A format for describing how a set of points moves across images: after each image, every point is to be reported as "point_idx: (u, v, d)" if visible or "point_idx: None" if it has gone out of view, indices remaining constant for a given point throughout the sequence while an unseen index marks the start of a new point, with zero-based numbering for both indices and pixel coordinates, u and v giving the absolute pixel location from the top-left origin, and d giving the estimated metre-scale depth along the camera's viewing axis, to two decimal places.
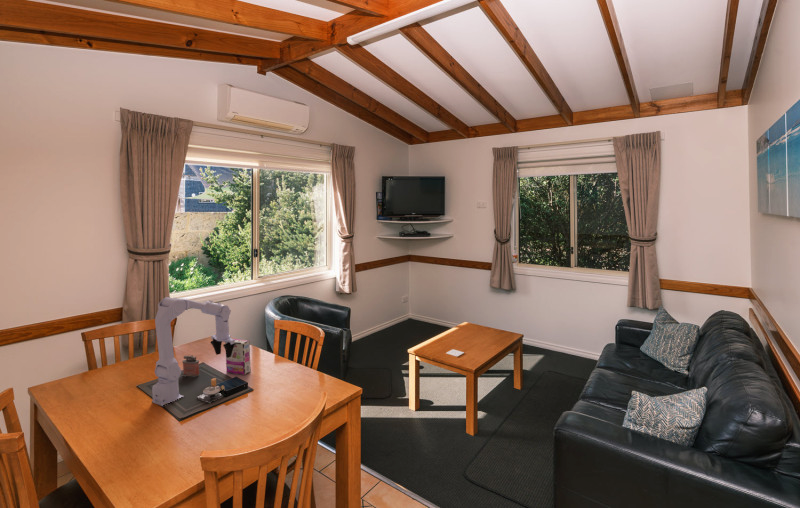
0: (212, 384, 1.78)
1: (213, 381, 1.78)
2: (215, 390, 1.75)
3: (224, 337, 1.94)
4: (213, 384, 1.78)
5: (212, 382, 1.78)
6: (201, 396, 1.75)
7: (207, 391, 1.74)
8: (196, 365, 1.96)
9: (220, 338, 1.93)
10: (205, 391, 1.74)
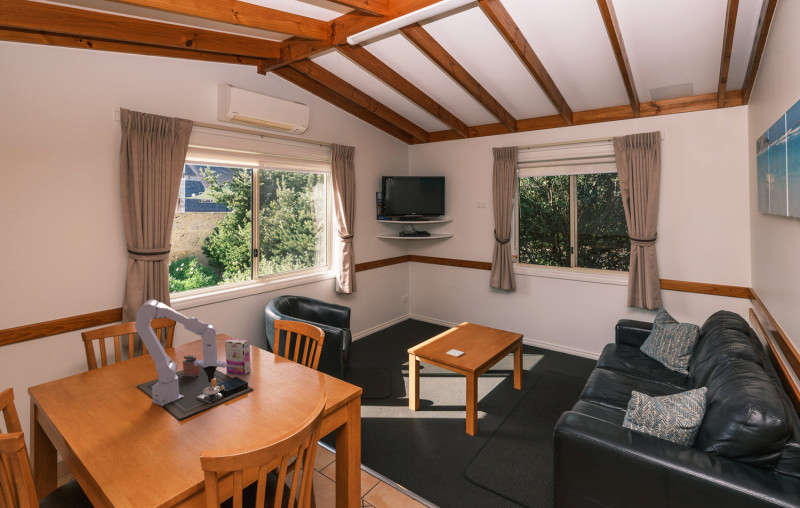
0: (212, 384, 1.78)
1: (213, 381, 1.78)
2: (215, 390, 1.75)
3: None
4: (213, 384, 1.78)
5: (212, 382, 1.78)
6: (201, 396, 1.75)
7: (207, 391, 1.74)
8: None
9: None
10: (205, 391, 1.74)
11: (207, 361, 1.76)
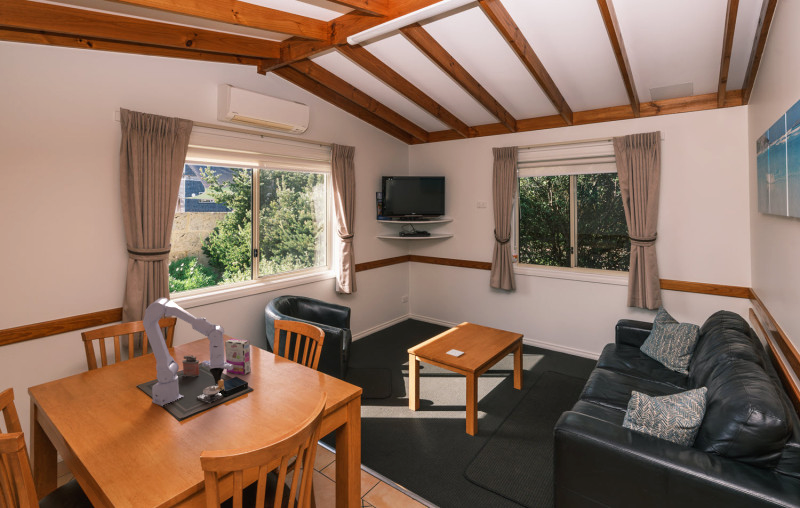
0: (218, 385, 1.78)
1: (218, 382, 1.77)
2: (209, 391, 1.74)
3: None
4: (218, 385, 1.78)
5: (218, 383, 1.78)
6: (201, 396, 1.75)
7: (206, 389, 1.76)
8: (196, 365, 1.96)
9: None
10: (206, 388, 1.76)
11: (213, 362, 1.75)
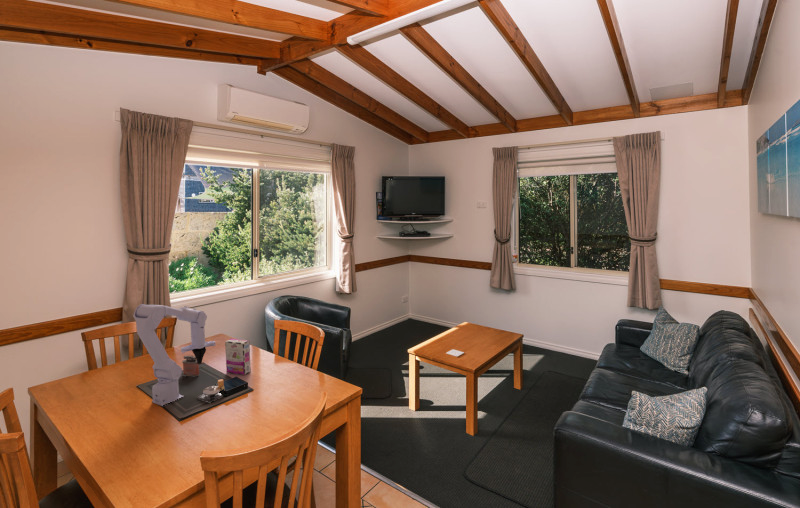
0: (218, 385, 1.78)
1: (218, 382, 1.77)
2: (209, 391, 1.74)
3: None
4: (218, 385, 1.78)
5: (218, 383, 1.78)
6: (201, 396, 1.75)
7: (206, 389, 1.76)
8: (196, 365, 1.96)
9: None
10: (206, 388, 1.76)
11: (201, 343, 1.86)
